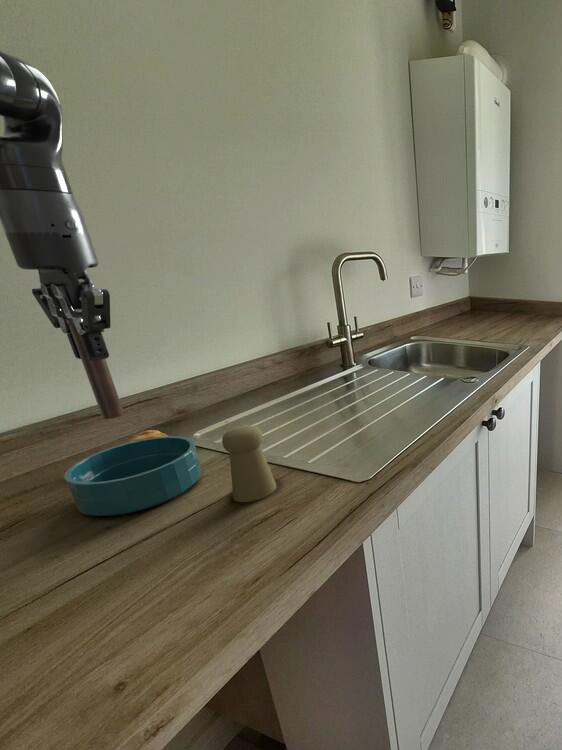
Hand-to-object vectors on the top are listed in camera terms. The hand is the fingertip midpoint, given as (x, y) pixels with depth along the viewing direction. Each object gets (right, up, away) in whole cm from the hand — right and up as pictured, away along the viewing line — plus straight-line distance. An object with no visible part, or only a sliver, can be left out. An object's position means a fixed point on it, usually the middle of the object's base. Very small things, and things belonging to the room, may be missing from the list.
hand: (93, 358), depth 59 cm
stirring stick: (0, -9, +3) cm, 9 cm away
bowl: (+1, -21, +7) cm, 22 cm away
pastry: (-8, -17, +19) cm, 27 cm away
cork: (+19, -21, +7) cm, 29 cm away
